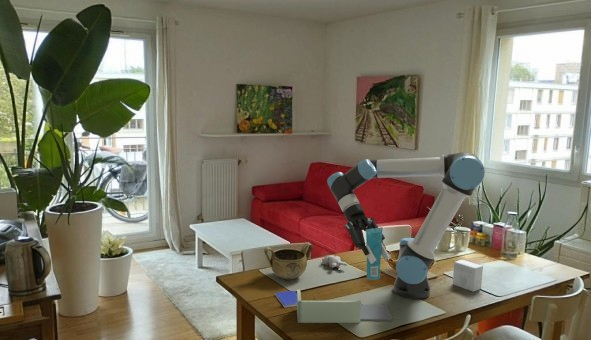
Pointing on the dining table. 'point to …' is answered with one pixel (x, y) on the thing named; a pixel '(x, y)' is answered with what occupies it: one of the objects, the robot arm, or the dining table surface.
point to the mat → (375, 313)
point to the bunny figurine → (333, 261)
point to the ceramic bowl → (289, 261)
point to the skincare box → (467, 275)
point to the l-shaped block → (327, 311)
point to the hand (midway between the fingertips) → (380, 260)
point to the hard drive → (287, 298)
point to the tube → (374, 252)
